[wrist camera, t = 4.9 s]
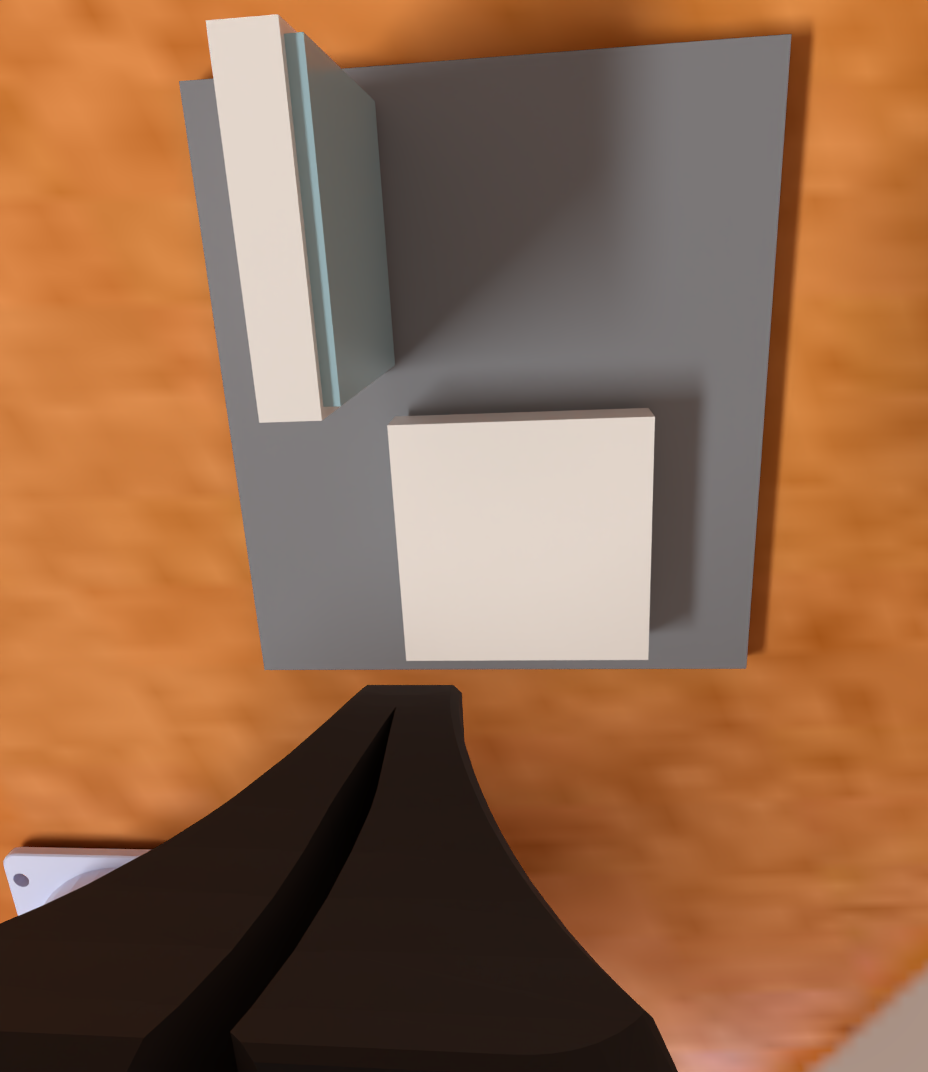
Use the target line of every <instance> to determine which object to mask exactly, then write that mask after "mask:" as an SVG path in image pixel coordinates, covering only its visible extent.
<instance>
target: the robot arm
mask: <svg viewBox="0 0 928 1072" xmlns="http://www.w3.org/2000/svg"><path fill="white" fill-rule="evenodd" d="M4 868H5V872H6V875H7V879H8V882H9V886H10V889H11V893H12V896H13V900H14V903H15V907H16V910H17V914H18V916H17V917H15V918H12V919H10V920H8V921H5V922H3V923H1V924H0V1072H678V1071H677V1069H676V1067H675V1064H674V1062H673V1060H672V1058H671V1056H670V1054H669V1051H668V1049H667V1047H666V1045H665V1043H664V1041H663V1038H662V1036H661V1034H660V1032H659V1030H658V1028H657V1026H656V1023H655V1021H654V1019H653V1018H652V1017H651V1016H650V1015H649V1014H648V1013H647V1012H646V1011H645V1010H644V1009H643V1008H642V1007H641V1006H639V1005H638V1004H637V1003H636V1002H635V1001H634V1000H633V999H632V998H631V997H630V996H629V995H628V994H627V993H626V992H625V991H624V990H623V989H622V988H621V987H620V986H619V985H618V984H617V983H616V982H615V981H614V980H613V979H612V978H611V977H610V976H609V975H608V974H607V973H606V972H605V971H604V970H603V969H602V968H601V967H600V966H599V965H598V964H597V963H596V962H595V960H594V959H593V958H592V957H591V956H590V955H589V954H588V953H587V951H586V950H585V949H584V948H583V947H582V946H581V945H580V944H579V942H578V941H577V940H576V939H575V938H574V937H573V936H572V935H571V933H570V932H569V931H568V930H567V928H566V927H565V926H564V924H563V923H562V922H561V921H560V919H559V918H558V917H557V915H556V914H555V913H554V911H553V910H552V909H551V907H550V906H549V905H548V903H547V902H546V901H545V900H544V898H543V897H542V896H541V894H540V893H539V892H538V890H537V889H536V888H535V886H534V885H533V884H532V882H531V881H530V879H529V878H528V876H527V875H526V873H525V871H524V870H523V868H522V867H521V865H520V864H519V862H518V860H517V859H516V857H515V856H514V854H513V852H512V851H511V849H510V847H509V845H508V844H507V842H506V840H505V838H504V837H503V835H502V833H501V831H500V829H499V827H498V825H497V823H496V822H495V820H494V817H493V815H492V813H491V811H490V809H489V807H488V805H487V802H486V800H485V798H484V796H483V793H482V791H481V789H480V786H479V784H478V781H477V779H476V776H475V774H474V771H473V768H472V765H471V761H470V758H469V755H468V752H467V749H466V746H465V742H464V727H463V708H462V693H461V692H460V691H459V690H458V689H457V688H456V687H455V686H454V685H367V686H365V687H364V688H363V689H362V690H360V691H359V692H358V693H357V694H356V695H355V696H354V697H353V698H351V699H350V700H349V701H348V702H347V703H346V704H345V705H344V706H343V707H342V708H340V709H339V710H338V711H337V712H336V713H335V714H334V715H333V716H332V717H331V718H330V719H328V720H327V721H326V722H325V723H324V724H323V725H322V726H321V727H319V728H318V729H317V730H316V731H315V732H314V733H313V734H311V735H310V736H309V737H308V738H307V739H306V740H305V741H303V742H302V743H301V744H300V745H299V746H298V747H297V748H295V749H294V750H293V751H292V752H291V753H290V754H288V755H287V756H286V757H285V758H284V759H282V760H281V761H280V762H278V763H277V764H276V765H275V766H273V767H272V768H271V769H269V770H268V771H267V772H266V773H264V774H263V775H262V776H260V777H259V778H258V779H257V780H255V781H254V782H253V783H252V784H250V785H249V786H248V787H246V788H245V789H244V790H243V791H241V792H240V793H239V794H237V795H236V796H235V797H233V798H232V799H230V800H229V801H228V802H226V803H225V804H223V805H222V806H221V807H219V808H218V809H216V810H215V811H213V812H212V813H210V814H209V815H207V816H206V817H204V818H203V819H201V820H200V821H198V822H196V823H195V824H193V825H192V826H190V827H189V828H187V829H185V830H184V831H182V832H181V833H179V834H178V835H176V836H174V837H173V838H171V839H169V840H168V841H166V842H164V843H163V844H161V845H159V846H158V847H156V848H154V849H152V850H149V849H99V848H49V847H17V848H14V849H13V850H11V851H10V853H9V854H8V855H7V856H6V857H5V859H4ZM23 874H24V875H25V876H24V875H23ZM26 876H27V877H26Z"/></svg>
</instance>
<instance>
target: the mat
mask: <svg viewBox="0 0 928 1072" xmlns="http://www.w3.org/2000/svg"><path fill="white" fill-rule="evenodd" d="M790 48H791V34H785V35H772V36H759V37H746V38H733V39H720V40H707V41H694V42H681V43H669V44H656V45H643V46H630V47H617V48H604V49H591V50H578V51H565V52H552V53H539V54H526V55H513V56H500V57H487V58H475V59H462V60H449V61H436V62H423V63H410V64H397V65H384V66H371V67H358V68H345V69H342V70H343V71H344V72H345V73H346V74H347V75H348V76H349V77H350V78H352V79H353V80H354V81H355V82H356V83H357V84H358V85H359V86H360V87H361V88H362V89H363V90H364V91H365V92H366V93H367V94H368V95H369V96H370V97H371V98H372V99H373V100H374V101H375V108H376V121H377V134H378V148H379V161H380V174H381V187H382V200H383V213H384V226H385V239H386V253H387V266H388V279H389V292H390V305H391V318H392V331H393V344H394V357H395V366H394V367H392V368H391V369H390V370H388V371H387V372H386V373H384V374H383V375H382V376H380V377H379V378H378V379H377V380H375V381H374V382H373V383H371V384H370V385H369V386H367V387H366V388H365V389H363V390H362V391H361V392H359V393H358V394H357V395H355V396H354V397H353V398H351V399H350V400H349V401H347V402H346V403H345V404H343V405H342V406H341V407H339V408H338V409H337V410H335V411H334V412H333V413H331V414H330V415H329V416H327V417H326V418H325V419H323V420H322V421H297V422H267V423H259V417H258V410H257V402H256V395H255V387H254V380H253V372H252V364H251V357H250V349H249V342H248V334H247V327H246V319H245V312H244V304H243V297H242V289H241V282H240V274H239V267H238V259H237V252H236V244H235V237H234V229H233V222H232V214H231V207H230V199H229V192H228V184H227V177H226V169H225V162H224V154H223V146H222V139H221V131H220V124H219V116H218V109H217V101H216V94H215V86H214V79H203V80H190V81H179V84H180V91H181V98H182V105H183V112H184V118H185V125H186V132H187V139H188V146H189V153H190V160H191V167H192V174H193V180H194V187H195V194H196V201H197V208H198V215H199V222H200V229H201V235H202V242H203V249H204V256H205V263H206V270H207V277H208V284H209V290H210V297H211V304H212V311H213V318H214V325H215V332H216V339H217V345H218V352H219V359H220V366H221V373H222V380H223V387H224V394H225V400H226V407H227V414H228V421H229V428H230V435H231V442H232V449H233V456H234V462H235V469H236V476H237V483H238V490H239V497H240V504H241V511H242V517H243V524H244V531H245V538H246V545H247V552H248V559H249V566H250V572H251V579H252V586H253V593H254V600H255V607H256V614H257V621H258V627H259V634H260V641H261V648H262V655H263V662H264V669H265V670H385V669H746V665H747V651H748V637H749V623H750V609H751V595H752V581H753V567H754V553H755V539H756V525H757V511H758V497H759V483H760V469H761V455H762V441H763V426H764V412H765V398H766V384H767V370H768V356H769V342H770V328H771V314H772V300H773V286H774V272H775V258H776V244H777V230H778V216H779V202H780V188H781V174H782V160H783V146H784V132H785V118H786V104H787V90H788V76H789V62H790ZM630 408H649V409H650V411H651V412H652V413H653V415H654V416H655V432H654V469H653V506H652V543H651V580H650V617H649V653H648V660H489V661H406V651H405V639H404V626H403V614H402V602H401V589H400V577H399V565H398V552H397V540H396V528H395V516H394V503H393V491H392V479H391V466H390V454H389V442H388V429H387V425H388V424H389V423H390V422H391V421H392V419H393V418H394V417H395V416H424V415H453V414H482V413H512V412H541V411H571V410H600V409H630Z"/></svg>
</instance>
